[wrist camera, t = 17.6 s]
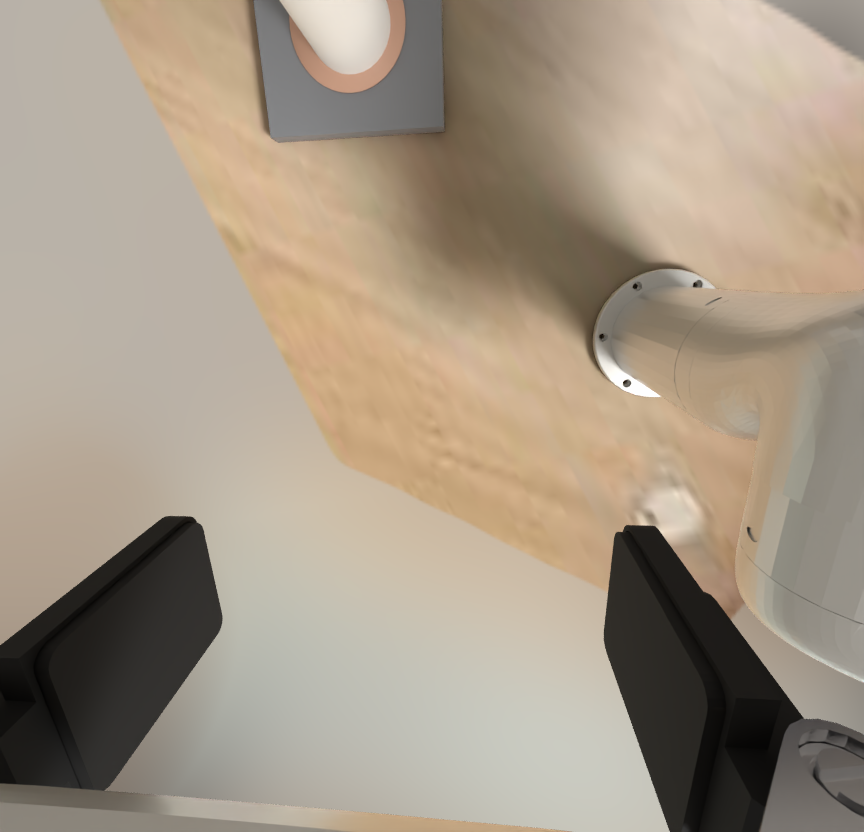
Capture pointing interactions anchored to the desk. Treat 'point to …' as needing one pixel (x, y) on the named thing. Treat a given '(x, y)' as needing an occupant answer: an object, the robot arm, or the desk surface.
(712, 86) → the desk surface
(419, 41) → the board
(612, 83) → the desk surface
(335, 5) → the cylindrical container
